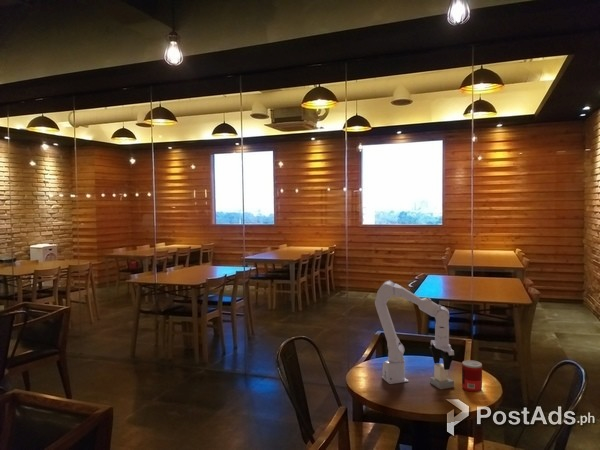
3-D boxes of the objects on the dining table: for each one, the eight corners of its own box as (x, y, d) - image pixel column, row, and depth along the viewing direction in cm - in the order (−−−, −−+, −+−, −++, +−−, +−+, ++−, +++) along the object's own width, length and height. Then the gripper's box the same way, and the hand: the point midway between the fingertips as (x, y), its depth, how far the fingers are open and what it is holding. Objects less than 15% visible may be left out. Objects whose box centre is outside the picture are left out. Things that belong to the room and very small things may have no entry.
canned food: (485, 390, 185) (486, 365, 184) (469, 393, 183) (469, 367, 182) (473, 383, 192) (474, 359, 192) (458, 386, 190) (458, 361, 189)
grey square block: (440, 390, 187) (440, 383, 187) (430, 384, 194) (430, 377, 194) (453, 387, 189) (453, 381, 189) (443, 381, 196) (443, 375, 196)
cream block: (440, 381, 189) (440, 367, 189) (434, 377, 193) (434, 364, 192) (447, 380, 190) (447, 366, 190) (441, 376, 194) (442, 363, 194)
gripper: (460, 339, 185) (459, 371, 185) (440, 329, 199) (440, 359, 199) (445, 341, 183) (445, 373, 183) (426, 331, 197) (426, 361, 197)
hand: (441, 366), depth 191 cm, fingers open, 7 cm apart
